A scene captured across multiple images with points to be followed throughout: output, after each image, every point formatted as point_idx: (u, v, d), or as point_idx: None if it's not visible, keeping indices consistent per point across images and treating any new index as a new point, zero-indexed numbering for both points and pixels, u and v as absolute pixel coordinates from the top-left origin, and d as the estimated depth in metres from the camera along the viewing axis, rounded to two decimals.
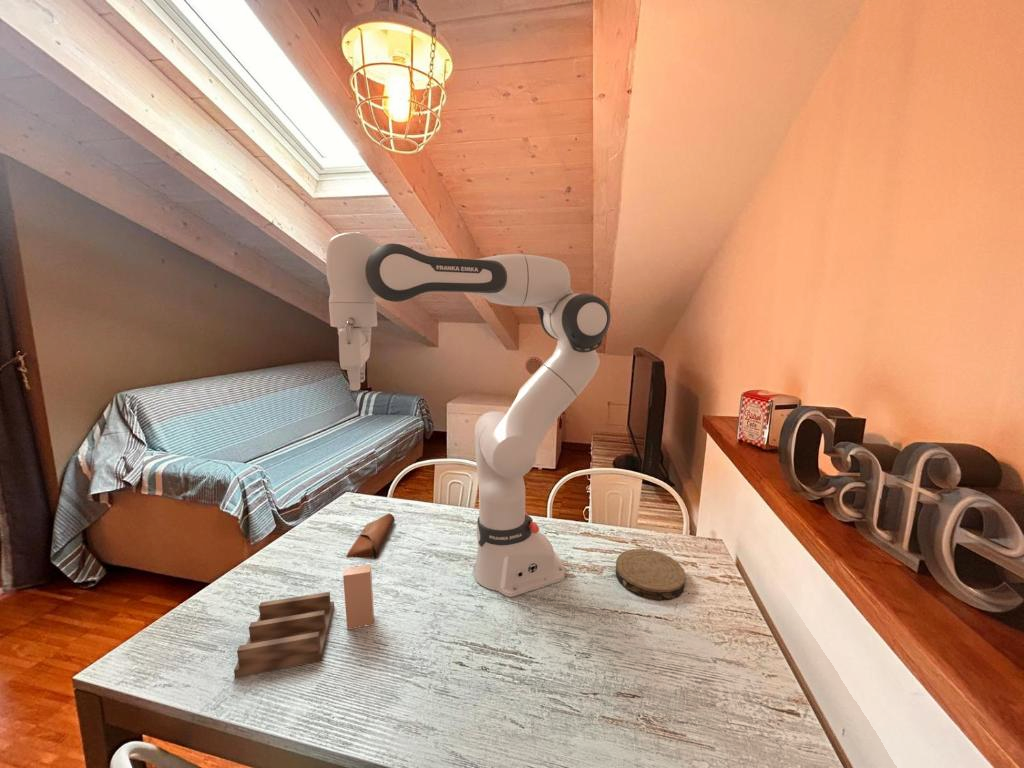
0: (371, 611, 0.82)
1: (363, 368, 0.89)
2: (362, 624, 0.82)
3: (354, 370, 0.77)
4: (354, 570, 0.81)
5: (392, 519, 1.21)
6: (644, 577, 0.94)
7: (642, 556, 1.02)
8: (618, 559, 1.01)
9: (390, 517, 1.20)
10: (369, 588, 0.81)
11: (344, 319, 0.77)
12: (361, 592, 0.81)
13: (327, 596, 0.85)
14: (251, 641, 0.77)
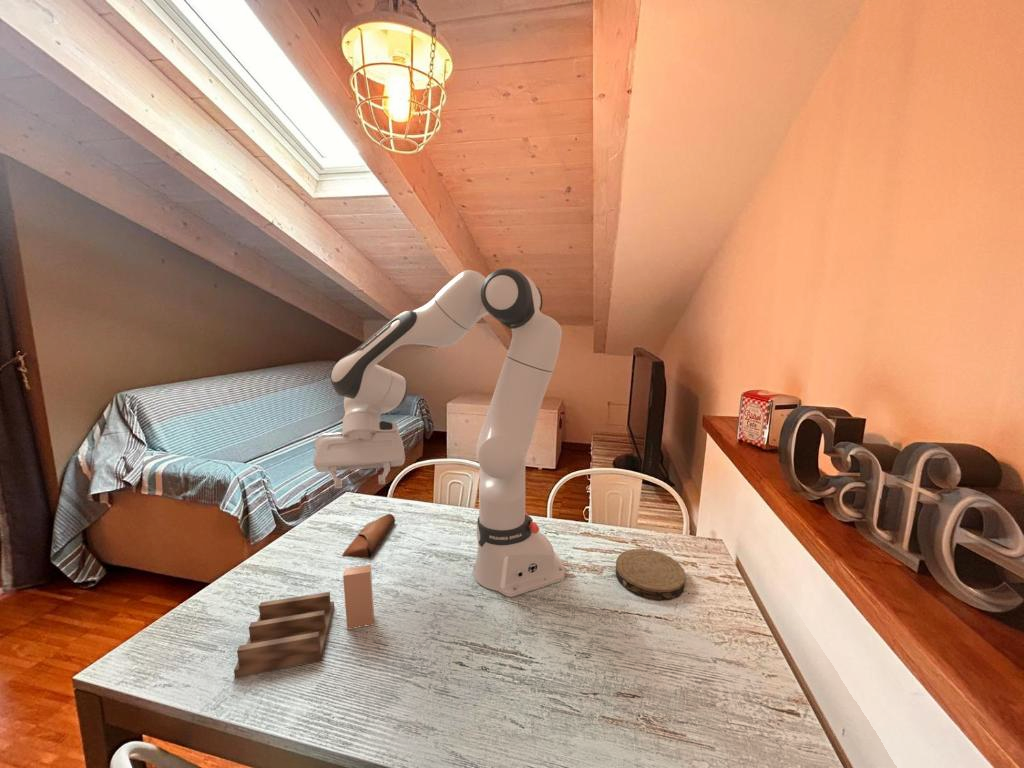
0: (371, 611, 0.82)
1: None
2: (362, 624, 0.82)
3: (330, 470, 0.93)
4: (354, 570, 0.81)
5: (392, 519, 1.20)
6: (644, 577, 0.94)
7: (642, 556, 1.02)
8: (618, 559, 1.01)
9: (390, 517, 1.20)
10: (369, 588, 0.81)
11: None
12: (361, 592, 0.81)
13: (327, 596, 0.85)
14: (251, 641, 0.77)
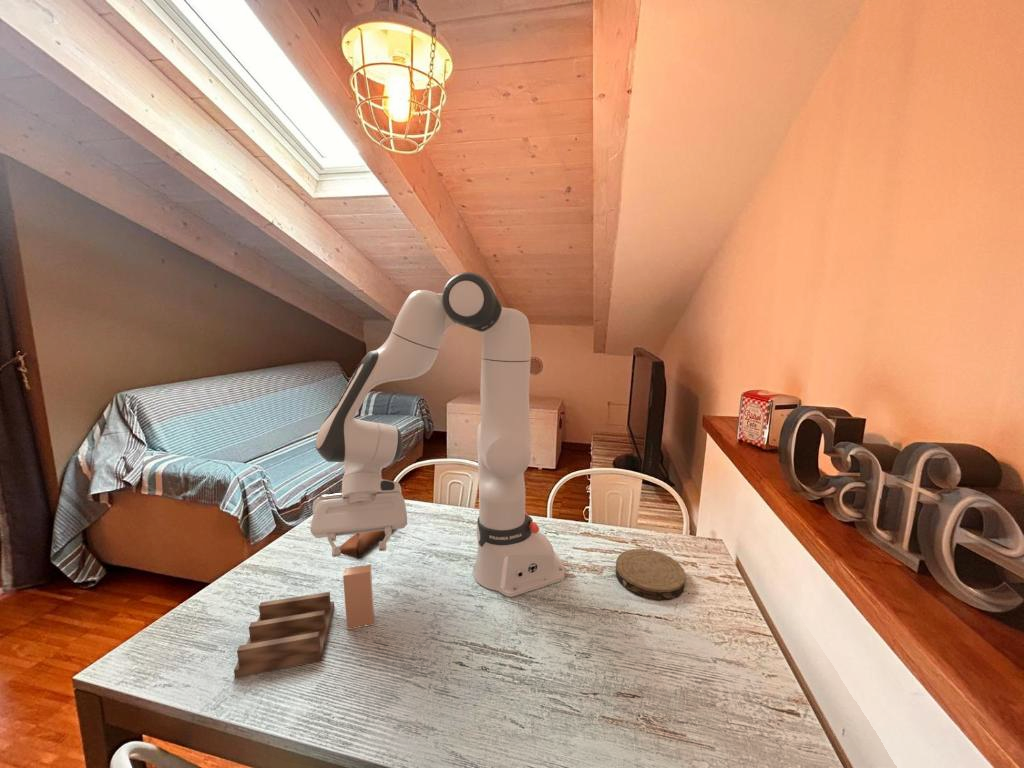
0: (371, 611, 0.82)
1: None
2: (362, 624, 0.82)
3: (328, 537, 0.88)
4: (354, 570, 0.81)
5: None
6: (644, 577, 0.94)
7: (642, 556, 1.02)
8: (618, 559, 1.01)
9: None
10: (369, 588, 0.81)
11: None
12: (361, 592, 0.81)
13: (327, 596, 0.85)
14: (251, 641, 0.77)
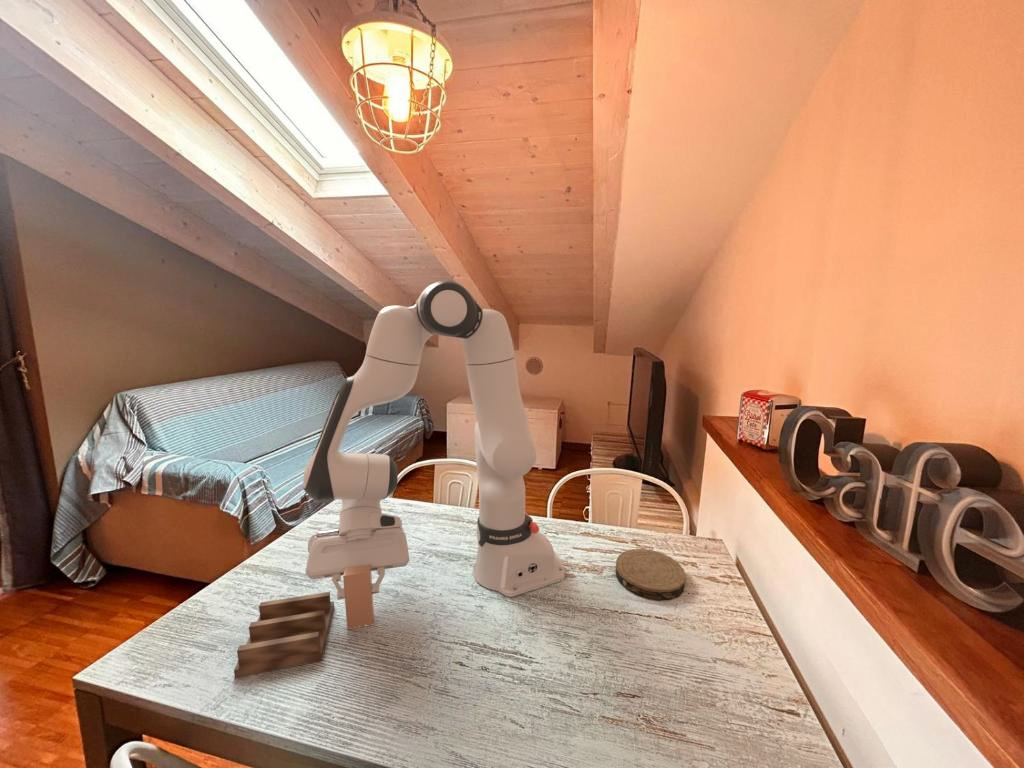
0: (371, 611, 0.82)
1: (378, 577, 0.84)
2: (362, 624, 0.82)
3: None
4: (354, 570, 0.81)
5: None
6: (644, 577, 0.94)
7: (642, 556, 1.02)
8: (618, 559, 1.01)
9: None
10: (369, 588, 0.81)
11: None
12: (361, 592, 0.81)
13: (327, 596, 0.85)
14: (251, 641, 0.77)
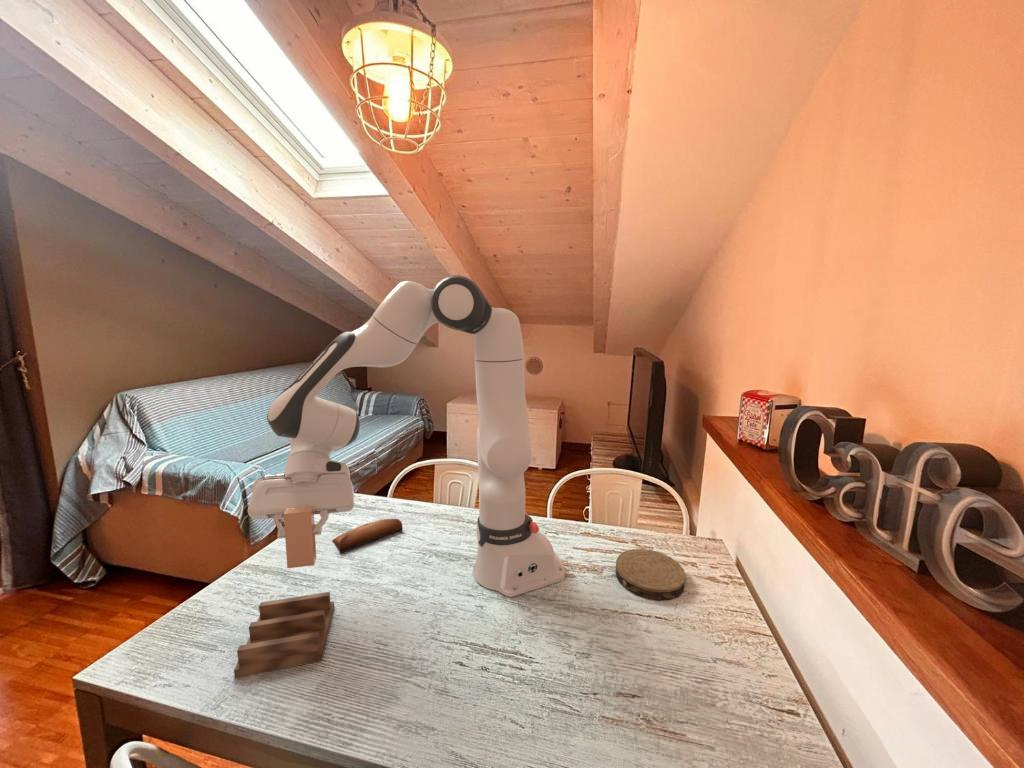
0: (312, 551, 0.83)
1: None
2: (303, 564, 0.83)
3: None
4: (295, 510, 0.82)
5: (396, 526, 1.17)
6: (644, 576, 0.94)
7: (642, 556, 1.02)
8: (618, 559, 1.01)
9: (395, 523, 1.17)
10: (310, 528, 0.83)
11: None
12: (302, 531, 0.82)
13: (327, 596, 0.85)
14: (251, 641, 0.77)
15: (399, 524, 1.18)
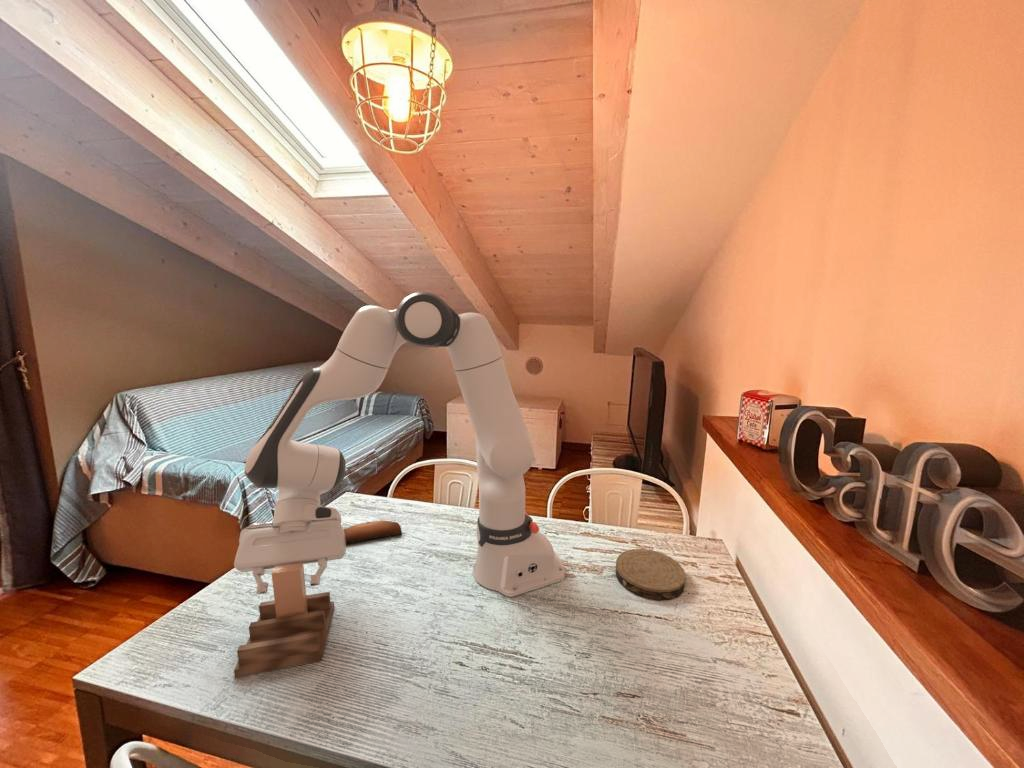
0: (303, 610, 0.80)
1: None
2: None
3: None
4: (284, 568, 0.79)
5: (394, 529, 1.15)
6: (644, 576, 0.94)
7: (642, 556, 1.02)
8: (618, 559, 1.01)
9: (393, 526, 1.15)
10: (300, 586, 0.80)
11: None
12: (291, 590, 0.79)
13: (327, 596, 0.85)
14: (251, 641, 0.77)
15: (398, 528, 1.15)
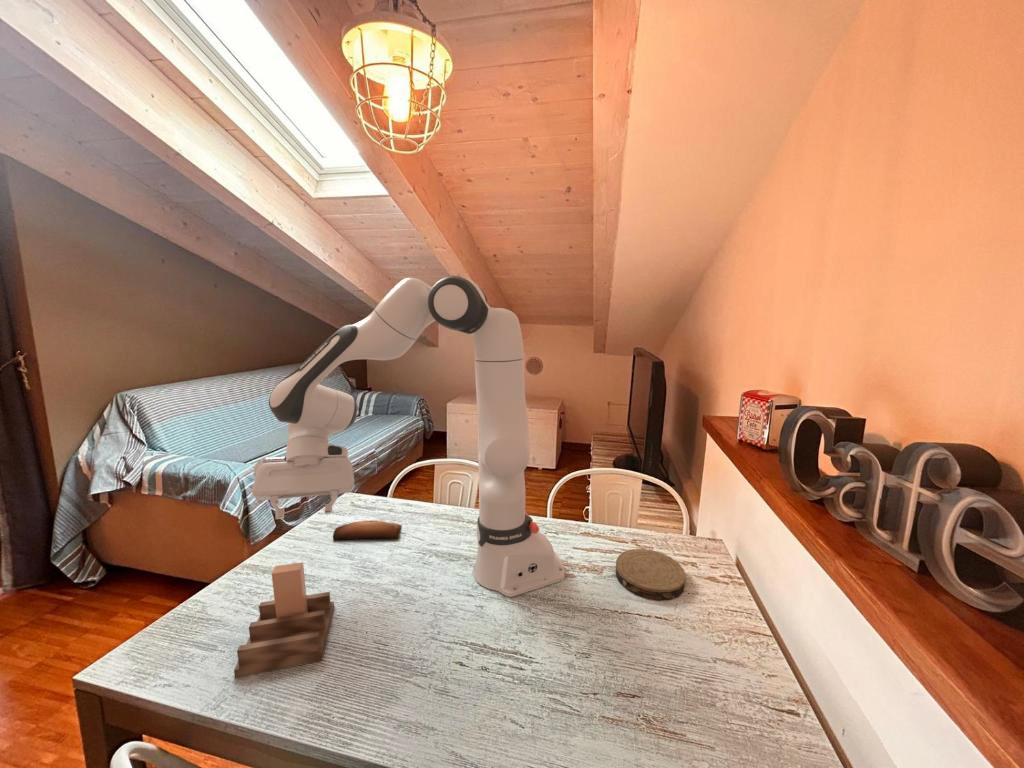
0: (303, 610, 0.80)
1: (332, 499, 0.90)
2: None
3: (271, 499, 0.87)
4: (284, 568, 0.79)
5: (391, 532, 1.13)
6: (644, 576, 0.94)
7: (642, 556, 1.02)
8: (618, 559, 1.01)
9: (390, 529, 1.14)
10: (300, 586, 0.80)
11: None
12: (291, 590, 0.79)
13: (327, 596, 0.85)
14: (251, 641, 0.77)
15: (394, 532, 1.13)
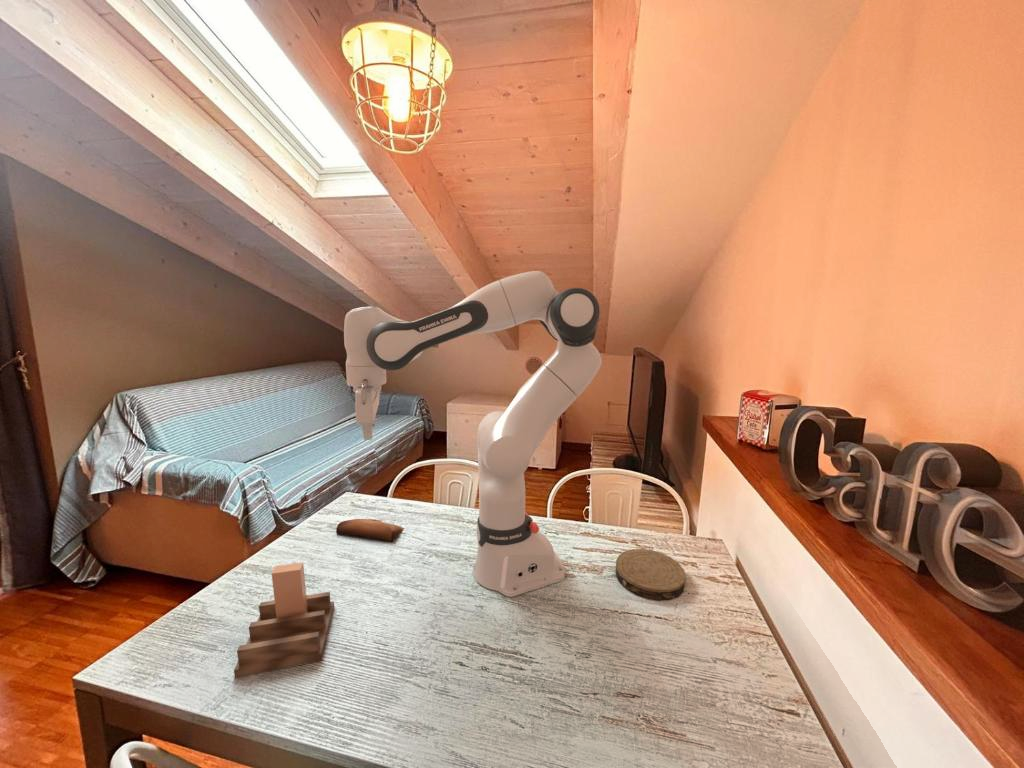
0: (303, 610, 0.80)
1: None
2: None
3: None
4: (284, 568, 0.79)
5: (386, 535, 1.12)
6: (644, 576, 0.94)
7: (642, 556, 1.02)
8: (618, 559, 1.01)
9: (386, 531, 1.13)
10: (300, 586, 0.80)
11: (359, 380, 0.91)
12: (291, 590, 0.79)
13: (327, 596, 0.85)
14: (251, 641, 0.77)
15: (389, 534, 1.12)
